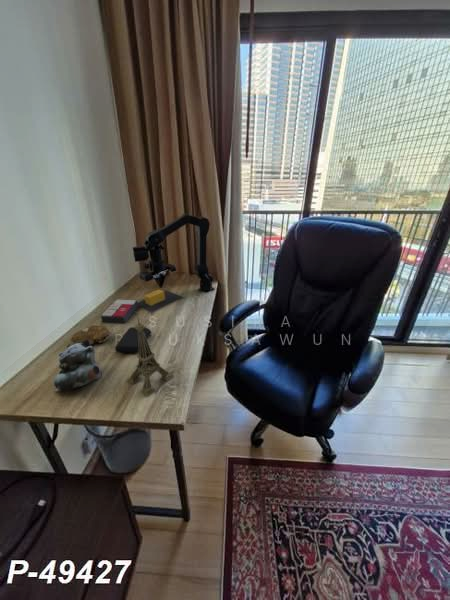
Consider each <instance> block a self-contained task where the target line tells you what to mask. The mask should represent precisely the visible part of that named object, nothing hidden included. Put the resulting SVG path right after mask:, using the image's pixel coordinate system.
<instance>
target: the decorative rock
mask: <svg viewBox="0 0 450 600" xmlns="http://www.w3.org/2000/svg"><path fill="white" fill-rule="evenodd" d="M110 336H111V333H110V330H109V329H108V328H107V326H105V325H97V324H91V325H89V326H87V327H84V328H82V329H80V330H78V331H76V332H75V333H74V334H73V335H72V336H71V337H70V341H71V342H72V344H73V343H74V344H77V343H83V342H84V341H85V340H88V341H89V343H90V345H93V344H94V343H100V344H101V343H105V342H107V341H108V340H109V337H110Z"/></svg>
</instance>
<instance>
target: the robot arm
mask: <svg viewBox="0 0 450 600" xmlns="http://www.w3.org/2000/svg"><path fill="white" fill-rule="evenodd" d="M187 224H189V225H193V226H194V227H195V232H196V234H197V262H196V264H193V267H194V269H193V272H194V274H195V275H196V276H197V277H198V278H199V279H200V280H199V288H198V291H201V292H204V293H209V292H211V291H214V290H215V288H214V287H213V281H214V277H213V276H212V275H211V274H210V271H209V266H208V263H207V238H208V233H209V231H210V226H211V222H210V220H209V219H208V218H206V217H205V216H203V215H198V216H194V215H191V214H187V213H182V215H180V216H178V217H177V218H175V219H173V220H172V221H170V222H169V223H167V224H166V225H164V226H162V227H160V228H158V229H154V230H152V231H149V232H147V233H146V236H145V237H146V240H145V241H144V243H143V245H142V246H133V247H132V256H133V260H134V262H135V263H137V262H143V261H148V263H147V262H143V263H141V269H142V270H143V272H141V273H139V274H138V275H139V276H138V277H139V280H142V281H144V282H150V281H152V280H153V279H154V280H155V282H156V284H157V286H158V287H159V288H160V289H161V288H163V286H164V283H165V280H166V278H167V276H169V274H168V273H167V272H168V271H170V272H171V273H174V272H176V271H177V266H176V265H175V264H172V263H166V264H164V263H165V260H164V259H163V252H162V250H166V247H165V245H163V244H162V243H163V242H164V241H165V240H166V238H167V237H168V236H170V235H171V234H173V233H174V232H176V231H178V230H179V229H180V228H183V227H184V226H186V225H187ZM144 270H145V271H144ZM149 271H150V272H149Z"/></svg>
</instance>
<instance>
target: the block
mask: <svg viewBox="0 0 450 600" xmlns="http://www.w3.org/2000/svg"><path fill="white" fill-rule="evenodd" d="M164 291H165V290H164ZM164 291H163V290H161V289H156V290H154V291H152V292H149V293H147V294H145V295H144V296H143V297H144V300H145V302H146V304H148V305H150V306H152V305H154V304H156V303H158V302H161V301H163V300H165V294H164Z"/></svg>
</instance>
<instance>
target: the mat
mask: <svg viewBox="0 0 450 600" xmlns="http://www.w3.org/2000/svg"><path fill="white" fill-rule="evenodd" d="M164 294H165V300H163V301H161V302H158V303H156V304H154V305H152V306H150V305H148V304H146V302H145V299H144V300H141V301H139V302H138V306H139V307H140V308H141V309H144V310H146V311H147V312H150V313H154V312H156V311H159V310H160V309H162V308H164V307H166V306H168V305H171V304H173V303H174V302H176V301H179V300H180V299H182V298H184V297H183V296H181V295H179V294H176V293H173V292H171V291H168V290H164Z"/></svg>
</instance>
